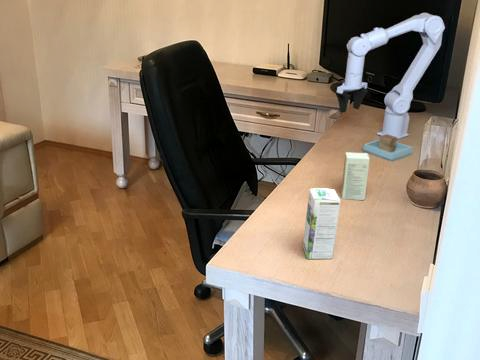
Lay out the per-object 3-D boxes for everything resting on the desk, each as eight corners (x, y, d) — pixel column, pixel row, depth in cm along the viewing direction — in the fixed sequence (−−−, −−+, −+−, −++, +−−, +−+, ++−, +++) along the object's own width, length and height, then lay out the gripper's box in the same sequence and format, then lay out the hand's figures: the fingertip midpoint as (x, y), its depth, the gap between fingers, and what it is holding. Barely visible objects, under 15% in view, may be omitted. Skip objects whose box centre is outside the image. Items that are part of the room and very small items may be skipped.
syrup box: (301, 246, 119) (307, 187, 113) (327, 246, 120) (334, 187, 114) (306, 259, 114) (313, 199, 108) (333, 259, 114) (341, 199, 109)
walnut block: (384, 147, 181) (387, 133, 179) (395, 151, 178) (397, 137, 176) (378, 150, 178) (380, 136, 176) (388, 153, 175) (390, 139, 173)
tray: (383, 144, 186) (384, 137, 185) (411, 154, 178) (413, 147, 177) (362, 151, 178) (363, 144, 177) (391, 161, 171) (393, 154, 170)
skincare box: (363, 194, 146) (369, 153, 141) (364, 200, 142) (371, 158, 137) (339, 192, 147) (345, 151, 142) (340, 199, 143) (346, 156, 138)
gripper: (357, 68, 191) (353, 104, 197) (332, 72, 183) (327, 110, 188) (374, 72, 187) (368, 109, 192) (348, 76, 178) (343, 115, 183)
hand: (349, 110), depth 190 cm, fingers open, 7 cm apart
